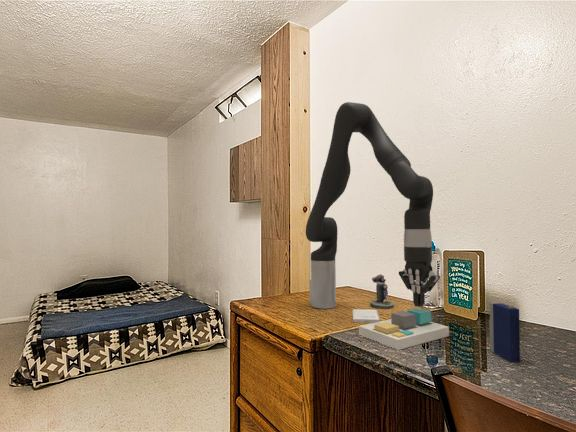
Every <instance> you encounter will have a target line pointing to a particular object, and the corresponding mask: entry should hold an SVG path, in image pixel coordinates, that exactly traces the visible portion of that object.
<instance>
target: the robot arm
mask: <svg viewBox="0 0 576 432" xmlns="http://www.w3.org/2000/svg"><path fill="white" fill-rule="evenodd" d="M354 133H359V134H361V135H362V136H363V137H365V138H366V139H367V141H368V142H369V143H370V146H371V147H372V150H373V154H374V157H375V159H376V160H377V163H378V164H379V165H380V166H381V168H383V170H384V171H385V172H386V173H387V174H388V175H389V176H390V178H391V181H392V182H393V184H394V186H395V188H396V190H397V191H398V192H399V193H400V194H401V195H402V196H403V197H404V198H406V199H407V200H409V205H408V208H407V209H406V210H405V211H404V216H403V218H404V219H403V222H404V223H403V224H404V232H403V257H404V258H403V259H404V262H405V265H404V269H402V270H401V271H400V270H399V271H398V275H399V277H400V279H401V280H402V282H403V284H404V286H405V288H406V289H407V290H410V291H411V292H412V300H413V301H412V302H413V305H414V307H417V308H422V307H424V305H425V303H426V302H425V300H426V299H425V293H429V292H431V291H432V290H433V289H434V287H435V285H437V283H438V282H439V280H440V279H441V276H440V275H439V274H436V273H435V272H434V271H433V269H434V268H433V267H432V261H433V245H432V244H433V242H432V241H433V240H432V237H433V236H432V230H431V211H432V205H433V199H434V186H433V183H432V181H431V180H430V179H429V178H428V177H426V176H422V175H418V174H417V172H415V170H414V169H413V168H412V164H411V161H410V160H409V158H407V156H406V155H405V154H404V153H403V152H402V151H401V149H399V148H398V147H397V145H396V144H395V143H394V142H393V140H392V139H391V138H390V137H389V135H388V133H386V131H385V130H384V128H383V127H382V125H381V123H380V121H379V120H378V118H377V116H376V115H375V113H374V112H373V111H372V109H371V108H370V106H368V105H367V104H365V103H360V102H359V103H358V102H351V101H347V102H344V103H342V104H341V105H340V106H339V107H338V109H337V111H336V115H335V117H334V123H333V128H332V134H331V140H330V145H329V149H328V153H327V156H326V157H327V158H326V161H325V164H324V168H323V171H322V173H321V174H322V175H321V177H320V182H319V187H318V190H317V193H316V197H315V200H314V203H313V205H312V208H311V211H310V214H309V216H308V219H307V221H306V226H305V237H306V239H307V240H308V241H309V242H312V243H321V245H320V247H318V248H317V249H315V250H313V251H312V252H311V253H310V279H309V305H310V306H311V307H312V308H315V309H322V310H323V309H324V310H325V309H334V308H336V306H337V293H336V292H337V291H336V289H337V288H336V287H337V286H336V285H337V283H336V282H337V281H336V280H337V279H336V277H337V275H336V274H337V273H336V255H337V252H338V224H337V222H336V220H335V219H334V217H329V216H328V217H326V214H327V212H328V210H330V208H331V207H332V206H333V205H334V203H335V202H337V200H338V199H339V198H340V197H341V196H342V195H343V193H344V192H345V190H346V188H347V185H348V182H349V179H350V175H351V170H352V169H351V162H350V157H349V146H350V141H351V138H352V135H353V134H354Z"/></svg>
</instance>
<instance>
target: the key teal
mask: <svg viewBox="0 0 576 432" xmlns="http://www.w3.org/2000/svg"><path fill="white" fill-rule="evenodd" d="M406 312H409V313H412V314H415V315H416V323H418V324H423V323H428V322H432V311H431V310H427V309H425V308H421V307H415V308H410V309H407V311H406Z"/></svg>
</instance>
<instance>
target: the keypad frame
mask: <svg viewBox="0 0 576 432" xmlns="http://www.w3.org/2000/svg"><path fill="white" fill-rule="evenodd" d="M385 322H387V323H391V318H390V319H386V320H380V322H376V323H366V324H363V325H358V335H359V336H360V335H362V336H361V337H363V336H364V337H363V338H365V337H366V338H365V339H368V338H369V339H368V340H370V339H371V341H373V340H374V341H373V342H376V341H377V342H376V343H378V342H379V343H378V344H381V345H383V346H386V347H389V348H391V347H392V349H394V348H395V349H394V350H397V351H400V350H403V349H407V348H411V347H414V346H417V345H421V344H426V343H429V342H432V341H436V340H439V339H443V338H447V337H450V327H449V325H448V326H447V325H444V324H440V323H436V322H433V321H431V322H428V323H423V324H418V323H416V325H415V326H411V327H406V328H403V327H400V326H399V332H395V333H391V334H388V335H386V334H383V333H381V332H378V331H375V330H374V325H376V324H380V323H385Z"/></svg>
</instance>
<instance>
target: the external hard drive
mask: <svg viewBox="0 0 576 432" xmlns="http://www.w3.org/2000/svg"><path fill="white" fill-rule="evenodd" d="M352 322H353V323H369V324H371V323H376V322H381V320H380V316H379V313H378V311H377V309H360V308H359V309H358V308H357V309H356V308H355V309H352Z"/></svg>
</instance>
